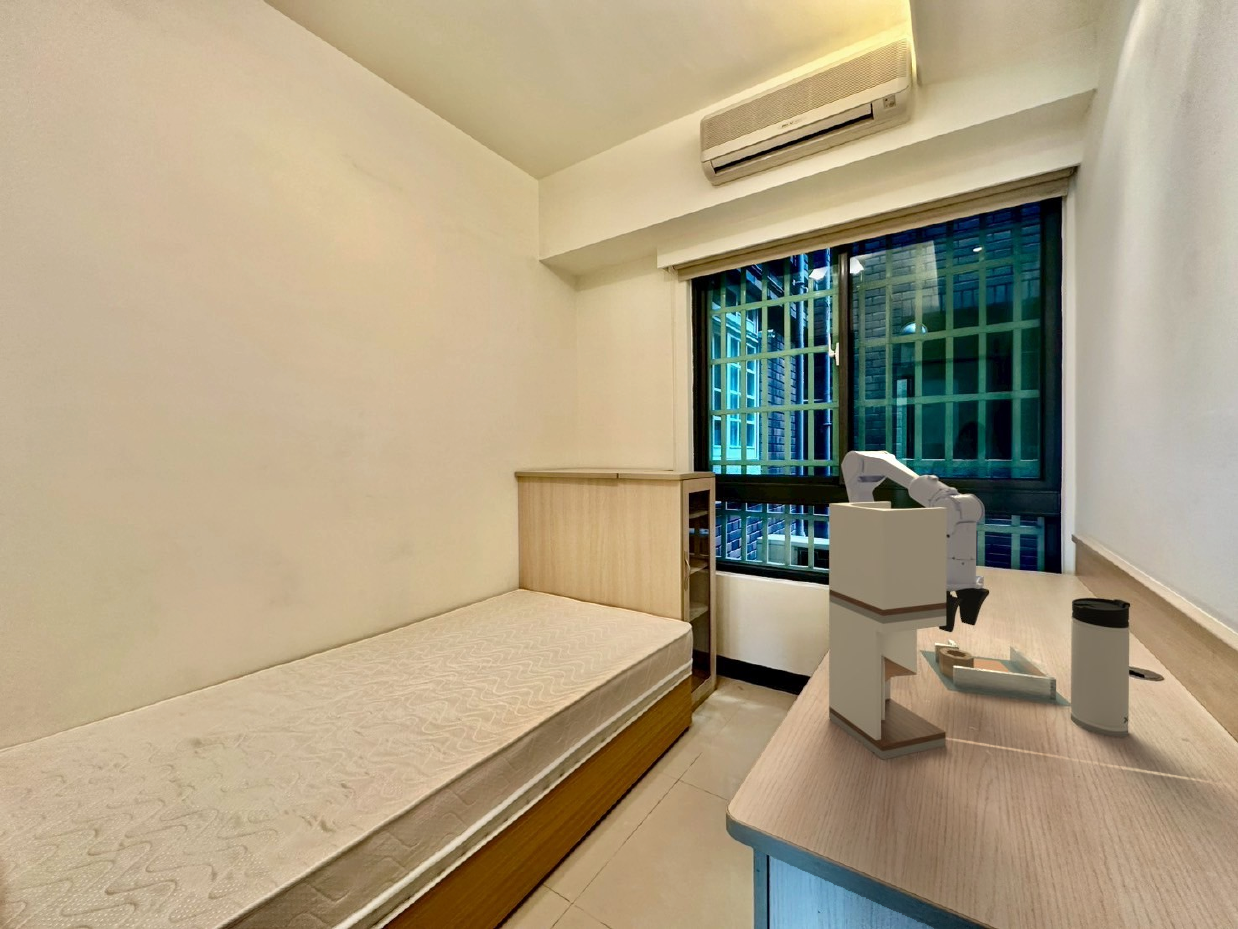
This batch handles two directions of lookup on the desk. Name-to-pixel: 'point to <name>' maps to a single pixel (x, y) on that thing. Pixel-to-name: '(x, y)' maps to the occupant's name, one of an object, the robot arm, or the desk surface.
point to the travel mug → (1100, 665)
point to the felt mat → (949, 684)
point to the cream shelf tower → (882, 618)
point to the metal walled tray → (1005, 676)
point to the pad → (989, 665)
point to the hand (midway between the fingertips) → (957, 627)
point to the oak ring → (954, 660)
